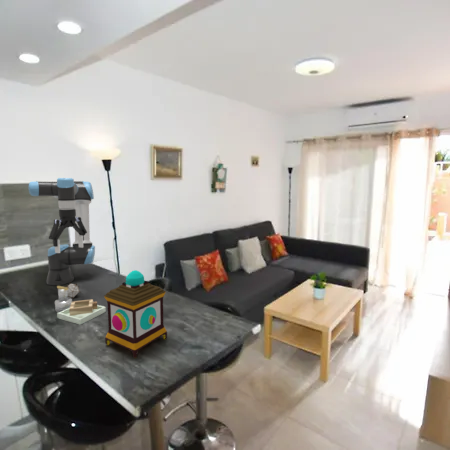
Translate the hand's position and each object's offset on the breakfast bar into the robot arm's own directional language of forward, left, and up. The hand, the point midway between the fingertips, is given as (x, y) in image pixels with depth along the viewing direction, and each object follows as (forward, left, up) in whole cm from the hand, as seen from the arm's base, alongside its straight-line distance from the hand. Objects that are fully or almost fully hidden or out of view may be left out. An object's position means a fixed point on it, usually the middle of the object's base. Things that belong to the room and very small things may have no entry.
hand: (69, 250), depth 152 cm
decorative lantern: (+16, +56, -29) cm, 65 cm away
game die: (-5, -7, -29) cm, 30 cm away
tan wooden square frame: (+8, +16, -26) cm, 32 cm away
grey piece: (+7, +2, -29) cm, 30 cm away
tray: (+8, +16, -29) cm, 34 cm away
